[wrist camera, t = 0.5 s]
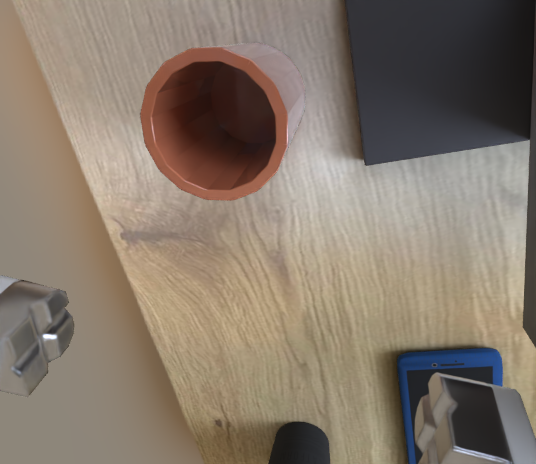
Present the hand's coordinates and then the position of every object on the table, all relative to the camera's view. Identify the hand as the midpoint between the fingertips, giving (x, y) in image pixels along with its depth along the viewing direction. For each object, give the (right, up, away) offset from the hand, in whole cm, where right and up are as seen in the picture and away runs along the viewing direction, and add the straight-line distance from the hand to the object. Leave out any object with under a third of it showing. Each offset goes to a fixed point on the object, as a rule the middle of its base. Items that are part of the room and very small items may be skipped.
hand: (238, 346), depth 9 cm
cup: (0, +11, +16) cm, 20 cm away
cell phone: (+15, -12, +25) cm, 32 cm away
